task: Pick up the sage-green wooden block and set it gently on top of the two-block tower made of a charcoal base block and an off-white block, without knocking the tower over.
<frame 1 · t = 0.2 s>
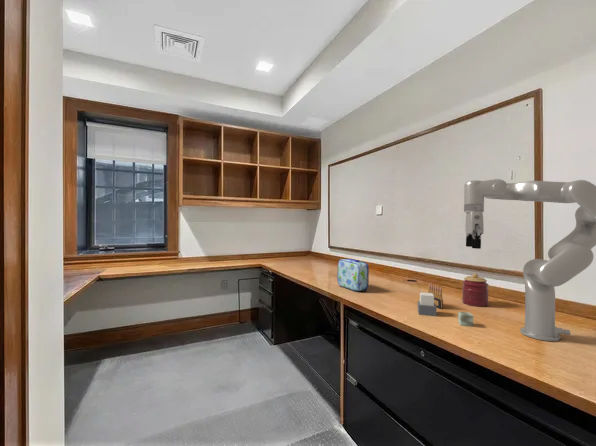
hand: (473, 247, 125), 36 cm above the worktop, tool pointing down, fingers open, 9 cm apart
lunch box: (352, 288, 200), on the worktop
tower base: (426, 313, 146), on the worktop, touching tower top
tower top: (426, 303, 146), point 5 cm above the worktop, touching tower base
sage block: (465, 324, 130), on the worktop
ammunition clip: (434, 306, 159), on the worktop
canister: (475, 304, 164), on the worktop
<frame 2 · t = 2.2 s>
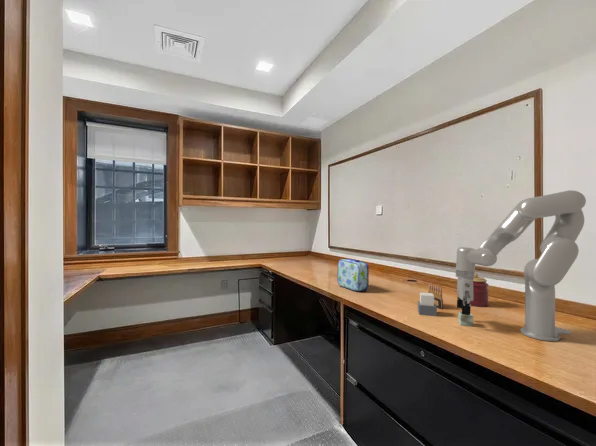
hand: (463, 311, 131), 6 cm above the worktop, tool pointing down, fingers open, 9 cm apart
nothing on the worktop moved.
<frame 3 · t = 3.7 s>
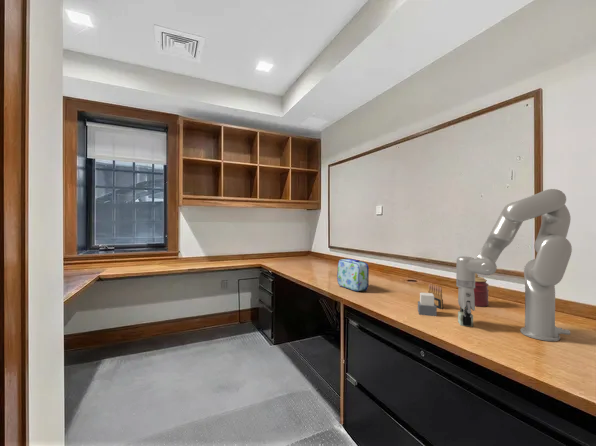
hand: (465, 322, 130), 1 cm above the worktop, tool pointing down, fingers closed on sage block, 5 cm apart
tower base: (426, 313, 146), on the worktop
tower top: (426, 303, 146), point 5 cm above the worktop
sage block: (465, 324, 130), on the worktop, touching gripper
everything else where it was.
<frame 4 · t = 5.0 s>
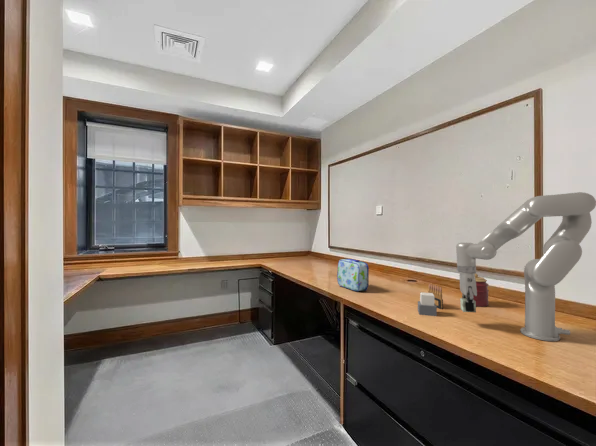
hand: (468, 309, 130), 7 cm above the worktop, tool pointing down, fingers closed on sage block, 5 cm apart
tower base: (426, 313, 146), on the worktop, touching tower top
tower top: (427, 303, 147), point 5 cm above the worktop, touching tower base
sage block: (468, 310, 130), point 6 cm above the worktop, touching gripper
everything else where it was.
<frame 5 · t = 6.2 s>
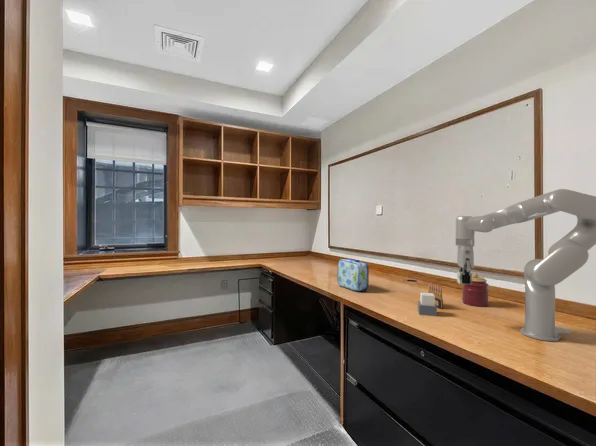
hand: (464, 281, 131), 19 cm above the worktop, tool pointing down, fingers closed on sage block, 5 cm apart
sage block: (464, 283, 131), point 19 cm above the worktop, touching gripper
everything else where it was.
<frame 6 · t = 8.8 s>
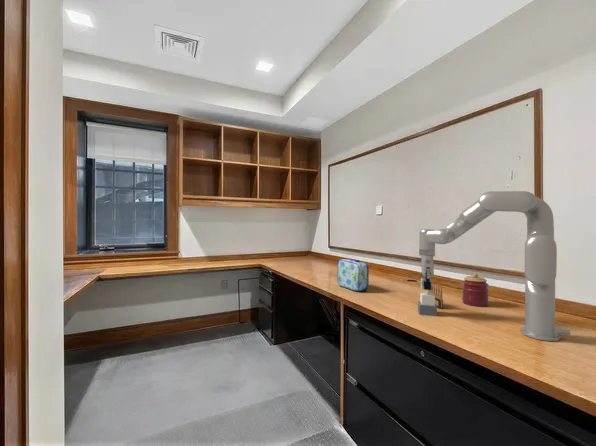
hand: (426, 287, 146), 13 cm above the worktop, tool pointing down, fingers closed on sage block, 5 cm apart
tower base: (426, 313, 146), on the worktop
tower top: (427, 303, 146), point 5 cm above the worktop
sage block: (426, 288, 146), point 12 cm above the worktop, touching gripper
everything else where it was.
when the fingers open (12 cm above the worktop, at t = 10.0 s): sage block drops 1 cm, resting on tower top.
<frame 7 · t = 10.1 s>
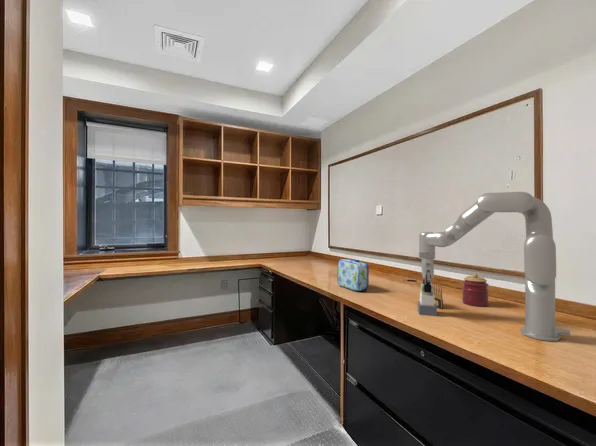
hand: (426, 290, 146), 12 cm above the worktop, tool pointing down, fingers open, 5 cm apart
tower base: (426, 313, 147), on the worktop, touching tower top
tower top: (426, 303, 147), point 5 cm above the worktop, touching sage block, tower base
sage block: (426, 294, 146), point 10 cm above the worktop, touching tower top
everything else where it was.
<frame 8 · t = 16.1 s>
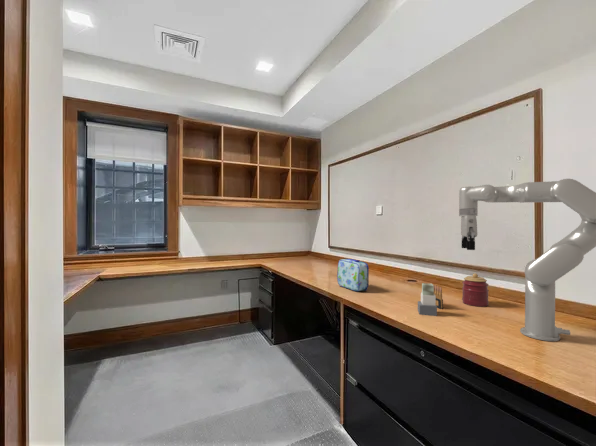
hand: (468, 248, 135), 34 cm above the worktop, tool pointing down, fingers open, 9 cm apart
tower base: (426, 313, 147), on the worktop
tower top: (427, 303, 147), point 5 cm above the worktop, touching sage block
everything else where it was.
at the end: sage block 0.4 cm off-centre on the tower top, point 5.0 cm above the tower top's base; sage block tilted 0°; tower top tilted 0° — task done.
